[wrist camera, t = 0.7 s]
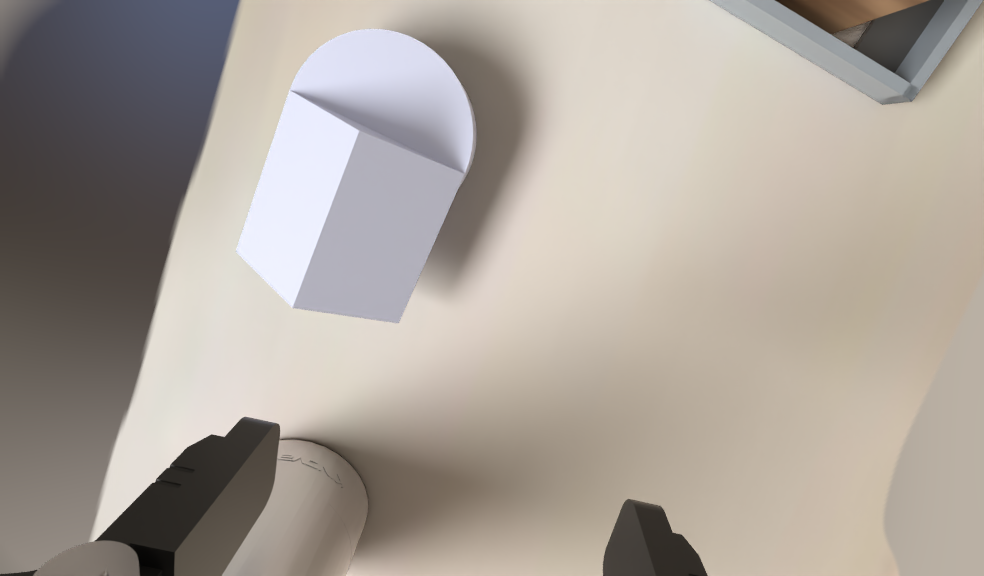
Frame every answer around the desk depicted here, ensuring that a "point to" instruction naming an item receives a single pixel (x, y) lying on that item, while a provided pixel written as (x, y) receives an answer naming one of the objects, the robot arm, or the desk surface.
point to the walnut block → (844, 11)
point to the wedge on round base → (360, 175)
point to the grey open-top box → (868, 43)
